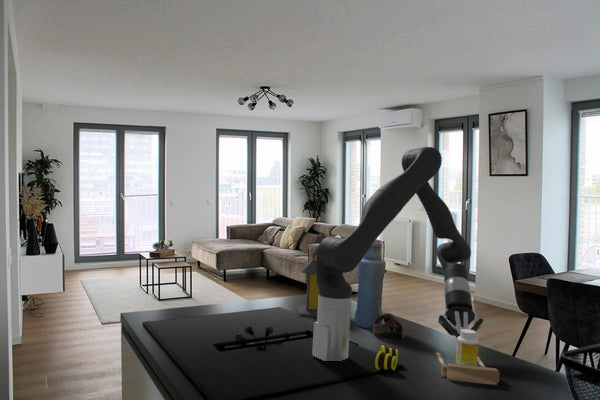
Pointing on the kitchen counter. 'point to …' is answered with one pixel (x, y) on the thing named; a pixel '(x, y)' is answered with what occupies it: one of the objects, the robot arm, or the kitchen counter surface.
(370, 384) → the kitchen counter surface
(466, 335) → the supplement bottle
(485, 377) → the bay
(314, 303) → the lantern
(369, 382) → the kitchen counter surface
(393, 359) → the opera glasses
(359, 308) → the bottle
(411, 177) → the robot arm
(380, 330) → the brown jagged curved piece
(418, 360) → the kitchen counter surface
